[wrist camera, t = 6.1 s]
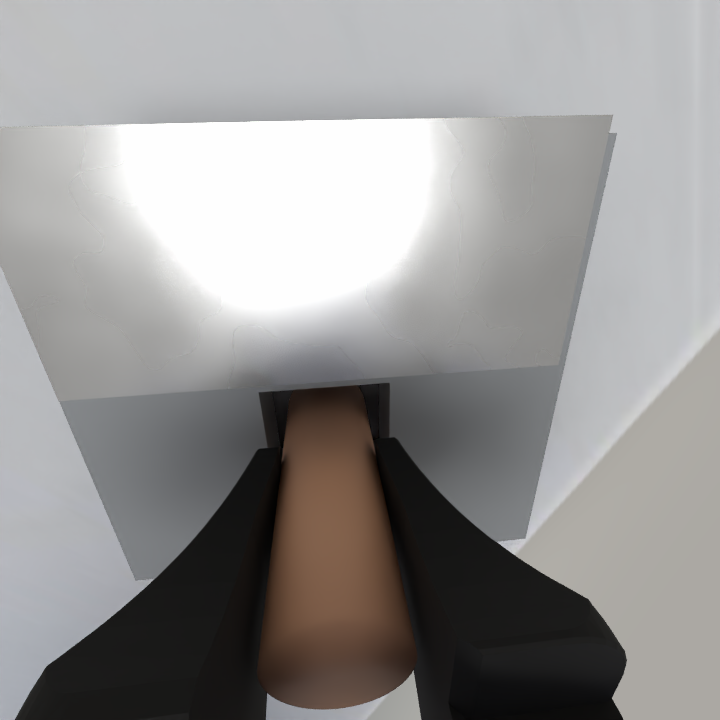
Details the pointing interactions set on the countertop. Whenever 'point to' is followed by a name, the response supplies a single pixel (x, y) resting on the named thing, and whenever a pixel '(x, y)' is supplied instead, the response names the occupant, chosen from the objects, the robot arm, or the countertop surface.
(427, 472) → the socket board
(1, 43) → the countertop surface
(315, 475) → the peg
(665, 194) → the countertop surface
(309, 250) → the grey bridge
